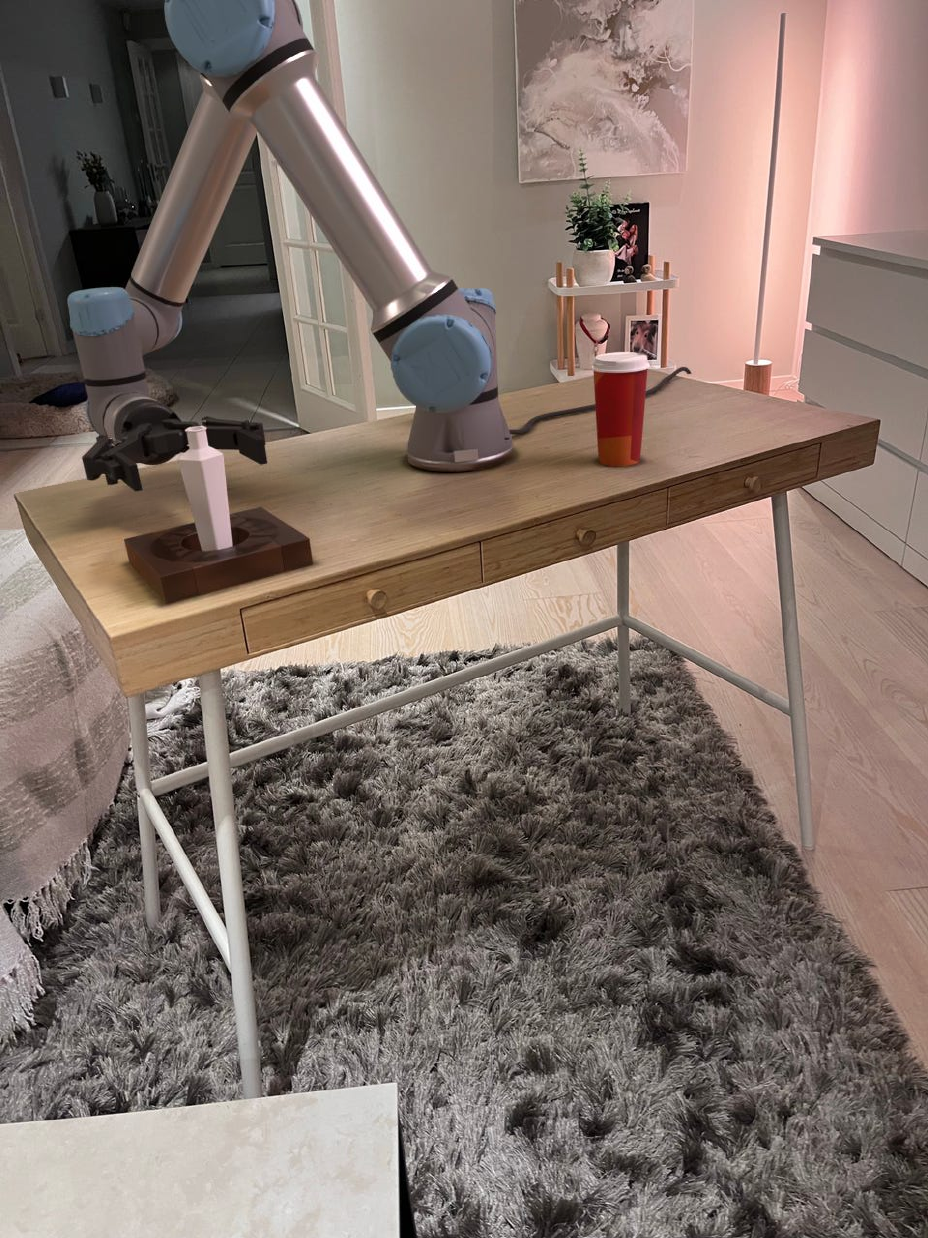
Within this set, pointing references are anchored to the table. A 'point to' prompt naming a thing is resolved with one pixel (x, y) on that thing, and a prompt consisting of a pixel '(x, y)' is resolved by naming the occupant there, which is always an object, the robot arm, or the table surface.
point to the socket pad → (217, 555)
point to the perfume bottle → (206, 490)
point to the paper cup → (620, 406)
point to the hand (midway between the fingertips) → (201, 464)
